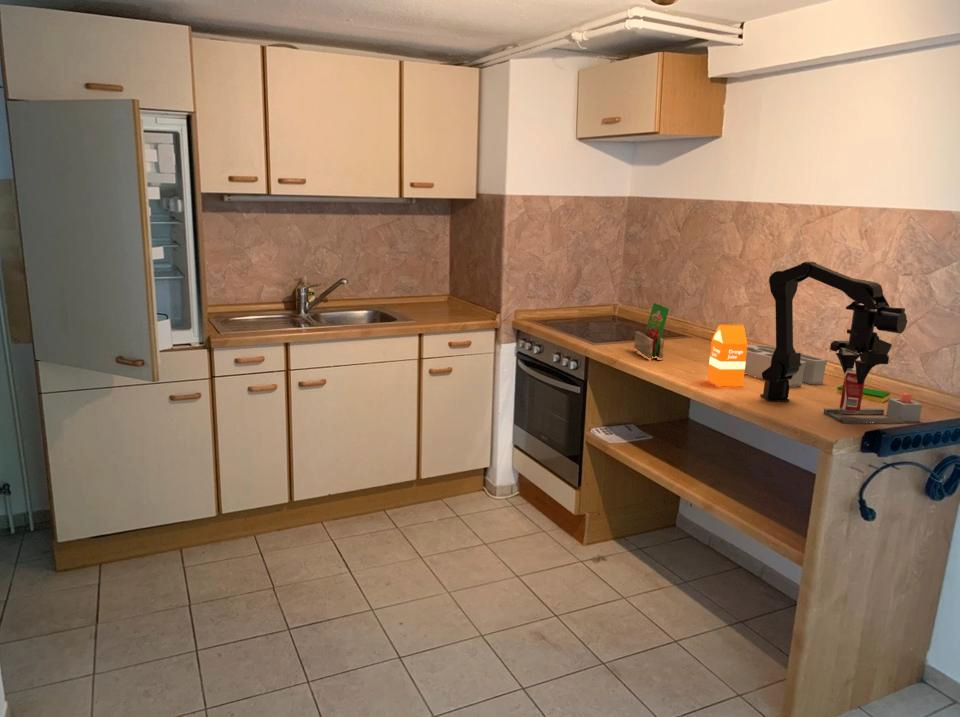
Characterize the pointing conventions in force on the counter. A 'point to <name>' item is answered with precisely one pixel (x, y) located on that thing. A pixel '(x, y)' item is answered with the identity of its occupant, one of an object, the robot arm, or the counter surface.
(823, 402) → the counter surface
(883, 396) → the dish sponge
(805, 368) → the grey compartment organizer
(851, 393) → the soda can
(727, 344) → the orange juice
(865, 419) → the grey shallow tray
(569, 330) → the counter surface
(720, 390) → the counter surface
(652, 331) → the tomato puree packet
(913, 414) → the grey push button box
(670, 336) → the counter surface
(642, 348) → the packet holder
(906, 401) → the plunger
